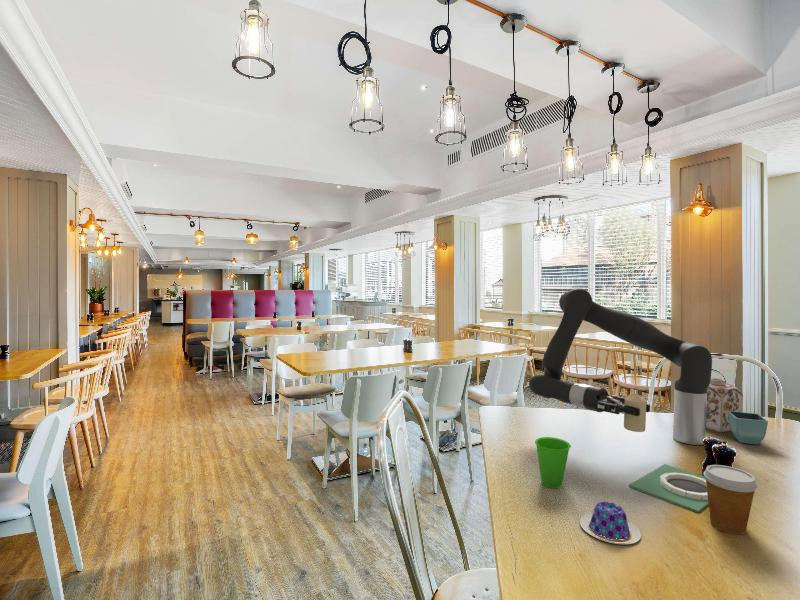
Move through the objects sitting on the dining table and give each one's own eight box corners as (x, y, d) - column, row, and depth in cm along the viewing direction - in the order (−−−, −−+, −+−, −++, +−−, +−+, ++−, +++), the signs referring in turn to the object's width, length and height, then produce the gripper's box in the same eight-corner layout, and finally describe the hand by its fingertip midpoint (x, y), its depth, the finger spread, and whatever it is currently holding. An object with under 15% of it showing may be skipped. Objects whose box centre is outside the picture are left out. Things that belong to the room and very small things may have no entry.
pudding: (606, 552, 87) (607, 526, 86) (567, 520, 98) (568, 497, 98) (654, 542, 90) (655, 518, 90) (611, 512, 101) (612, 491, 101)
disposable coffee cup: (759, 544, 89) (761, 487, 89) (703, 529, 94) (705, 476, 94) (751, 522, 97) (754, 470, 97) (700, 510, 102) (702, 460, 102)
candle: (648, 432, 121) (649, 397, 121) (626, 431, 123) (628, 396, 122) (641, 426, 127) (642, 392, 126) (621, 424, 128) (622, 391, 127)
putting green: (664, 465, 127) (664, 460, 127) (731, 487, 114) (731, 480, 114) (628, 486, 114) (628, 480, 114) (699, 513, 101) (699, 506, 101)
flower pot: (735, 444, 144) (736, 417, 144) (726, 435, 153) (727, 410, 152) (767, 448, 141) (768, 421, 141) (757, 439, 149) (758, 413, 149)
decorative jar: (742, 429, 159) (744, 381, 158) (721, 433, 155) (723, 383, 154) (709, 420, 170) (711, 374, 169) (688, 423, 166) (690, 376, 165)
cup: (569, 478, 118) (570, 439, 118) (570, 494, 109) (571, 451, 109) (534, 473, 121) (535, 435, 120) (533, 488, 112) (534, 446, 112)
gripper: (575, 388, 131) (632, 401, 118) (600, 382, 140) (656, 393, 126) (575, 413, 132) (631, 428, 118) (600, 405, 140) (655, 418, 127)
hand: (644, 410), depth 122 cm, fingers closed on candle, 5 cm apart
